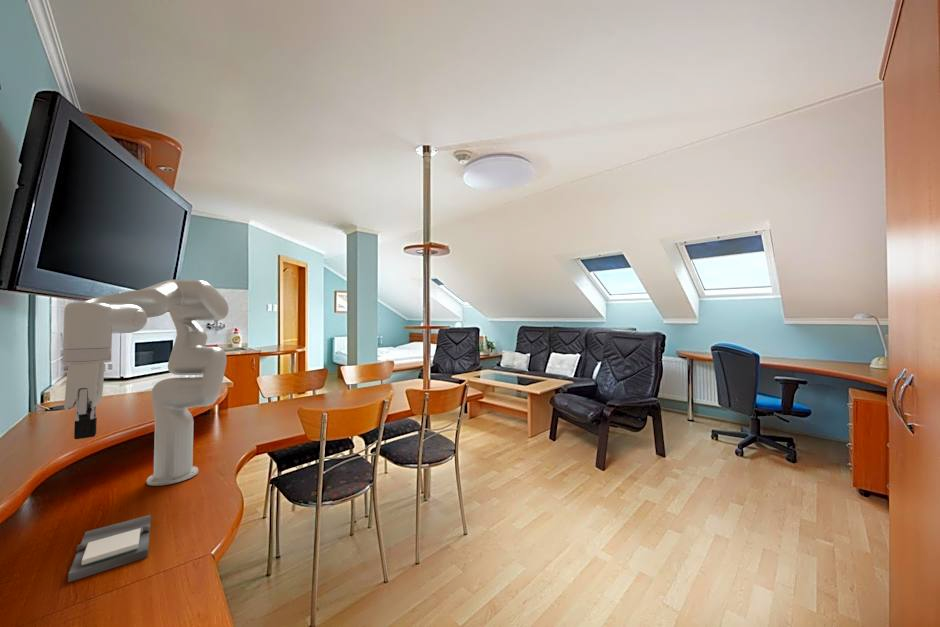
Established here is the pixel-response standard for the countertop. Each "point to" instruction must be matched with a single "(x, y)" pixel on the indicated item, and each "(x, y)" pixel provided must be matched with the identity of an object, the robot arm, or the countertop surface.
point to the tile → (111, 546)
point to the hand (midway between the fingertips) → (85, 437)
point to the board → (102, 565)
